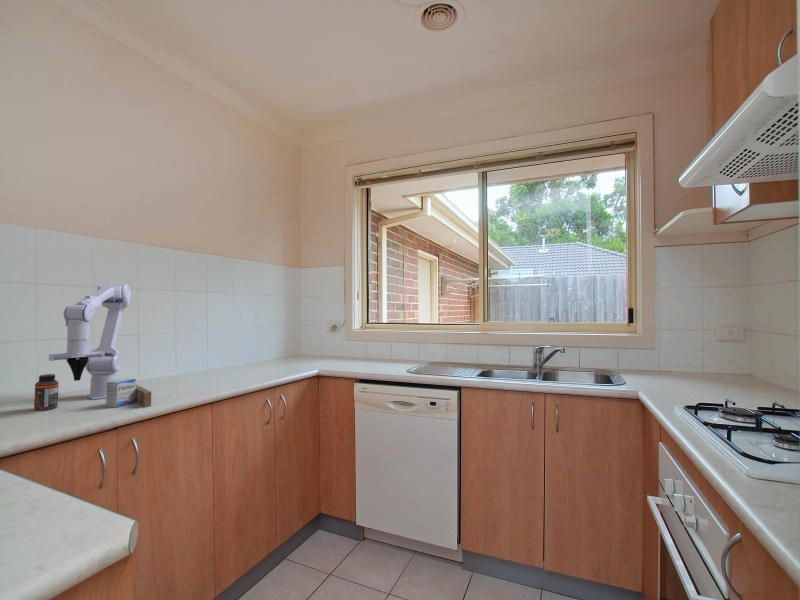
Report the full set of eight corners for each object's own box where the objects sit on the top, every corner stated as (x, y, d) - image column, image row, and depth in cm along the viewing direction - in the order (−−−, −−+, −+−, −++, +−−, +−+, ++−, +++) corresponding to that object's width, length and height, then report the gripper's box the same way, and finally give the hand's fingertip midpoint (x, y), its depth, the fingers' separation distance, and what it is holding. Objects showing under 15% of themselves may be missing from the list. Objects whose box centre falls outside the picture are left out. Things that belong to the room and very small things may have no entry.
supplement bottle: (29, 409, 130) (30, 375, 130) (51, 405, 135) (52, 372, 136) (40, 411, 128) (41, 377, 128) (62, 407, 133) (62, 374, 133)
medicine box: (116, 407, 134) (117, 382, 134) (105, 407, 135) (106, 381, 135) (136, 402, 142) (136, 378, 142) (125, 401, 142) (126, 377, 142)
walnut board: (128, 397, 148) (128, 384, 148) (134, 397, 149) (134, 383, 150) (144, 407, 135) (144, 392, 135) (151, 406, 136) (151, 391, 136)
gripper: (51, 342, 125) (50, 384, 125) (107, 339, 136) (106, 378, 136) (48, 340, 130) (47, 381, 130) (102, 338, 141) (101, 376, 140)
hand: (77, 380), depth 133 cm, fingers closed
